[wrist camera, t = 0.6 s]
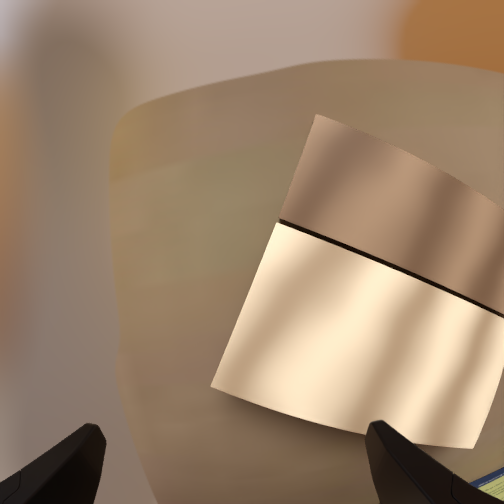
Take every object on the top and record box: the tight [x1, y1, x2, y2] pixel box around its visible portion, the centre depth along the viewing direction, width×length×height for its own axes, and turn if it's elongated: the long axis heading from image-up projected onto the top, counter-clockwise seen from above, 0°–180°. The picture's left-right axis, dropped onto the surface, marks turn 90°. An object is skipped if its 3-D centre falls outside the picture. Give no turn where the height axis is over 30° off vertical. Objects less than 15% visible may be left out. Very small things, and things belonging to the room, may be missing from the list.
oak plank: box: [211, 223, 504, 449], centre depth 16 cm, size 20×10×2 cm, turn 70°
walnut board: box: [279, 114, 504, 314], centre depth 17 cm, size 20×7×2 cm, turn 70°
